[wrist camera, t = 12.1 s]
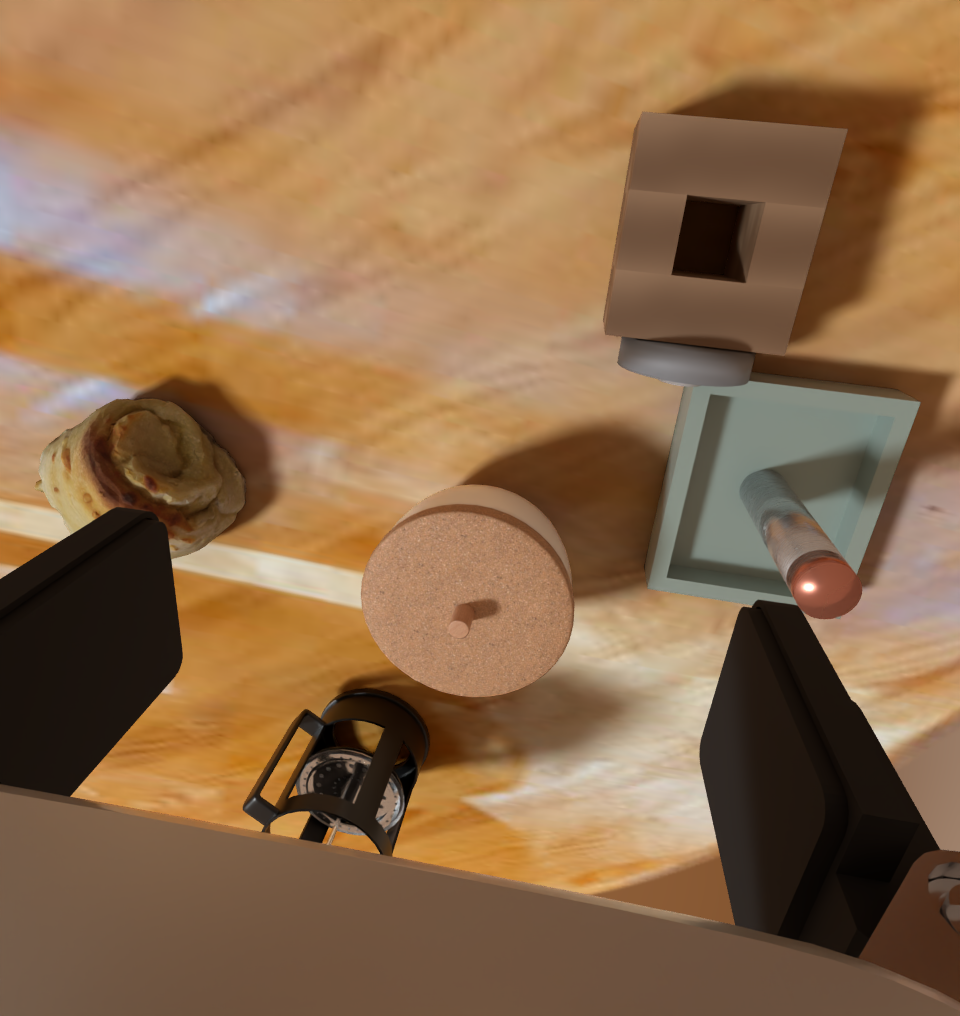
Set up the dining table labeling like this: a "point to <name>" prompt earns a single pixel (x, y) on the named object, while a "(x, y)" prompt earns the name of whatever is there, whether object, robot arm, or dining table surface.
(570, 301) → the dining table surface
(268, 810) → the french press
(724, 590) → the tray
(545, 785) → the dining table surface
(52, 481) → the pastry
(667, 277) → the block
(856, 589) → the lock pin
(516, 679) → the lidded bowl
